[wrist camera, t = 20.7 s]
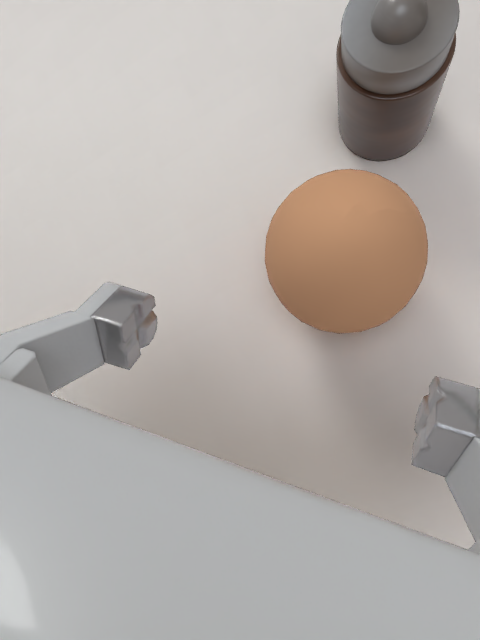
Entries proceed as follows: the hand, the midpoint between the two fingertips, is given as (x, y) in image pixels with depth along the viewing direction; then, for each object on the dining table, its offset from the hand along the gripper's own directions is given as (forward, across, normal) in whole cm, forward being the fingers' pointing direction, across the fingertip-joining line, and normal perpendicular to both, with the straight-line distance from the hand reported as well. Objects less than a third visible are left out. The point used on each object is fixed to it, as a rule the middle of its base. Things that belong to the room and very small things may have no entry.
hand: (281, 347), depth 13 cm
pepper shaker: (+17, 0, -2) cm, 17 cm away
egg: (+11, -1, +5) cm, 12 cm away
